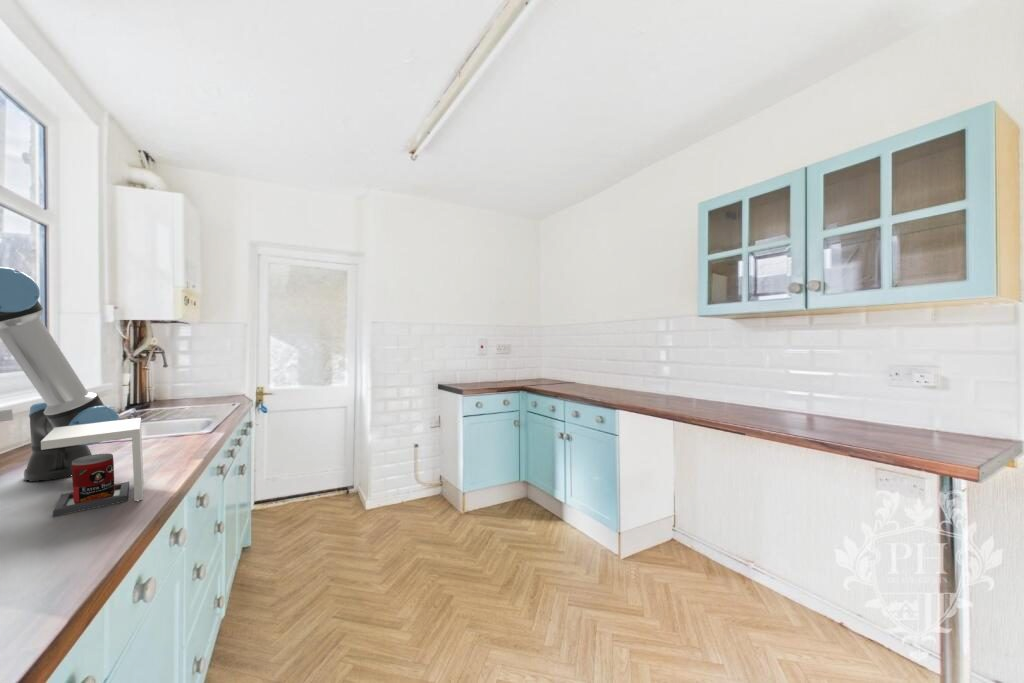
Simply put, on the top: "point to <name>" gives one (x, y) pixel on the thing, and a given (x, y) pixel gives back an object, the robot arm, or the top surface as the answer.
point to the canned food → (93, 477)
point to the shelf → (100, 434)
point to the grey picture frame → (68, 505)
